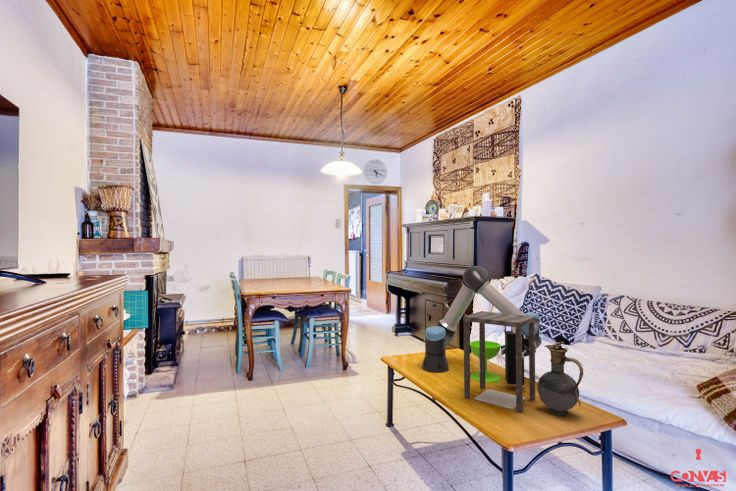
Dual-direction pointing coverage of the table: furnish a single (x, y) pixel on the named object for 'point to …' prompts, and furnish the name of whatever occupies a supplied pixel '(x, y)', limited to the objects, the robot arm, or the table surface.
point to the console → (518, 322)
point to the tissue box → (512, 357)
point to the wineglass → (490, 353)
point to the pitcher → (559, 383)
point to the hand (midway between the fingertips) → (511, 354)
